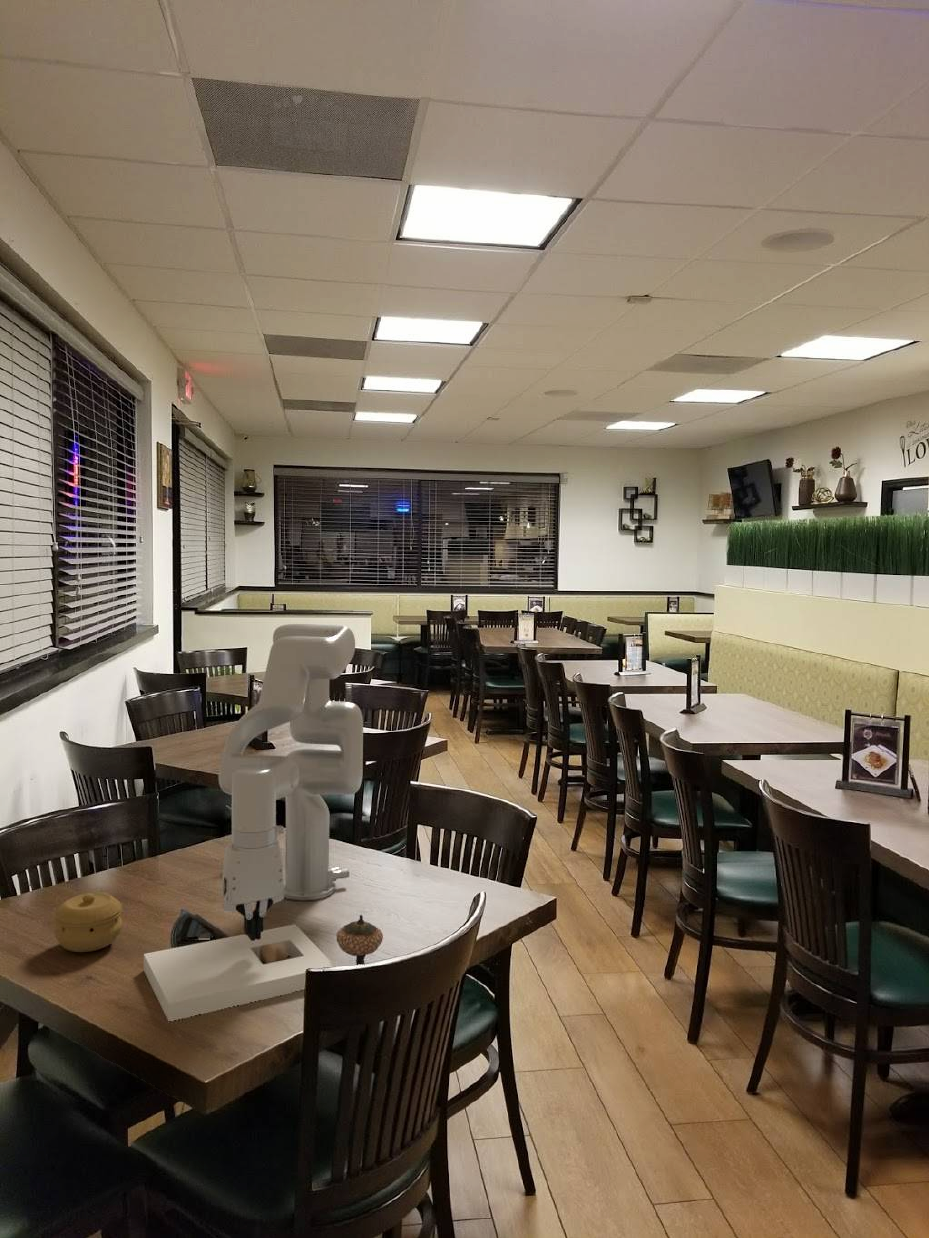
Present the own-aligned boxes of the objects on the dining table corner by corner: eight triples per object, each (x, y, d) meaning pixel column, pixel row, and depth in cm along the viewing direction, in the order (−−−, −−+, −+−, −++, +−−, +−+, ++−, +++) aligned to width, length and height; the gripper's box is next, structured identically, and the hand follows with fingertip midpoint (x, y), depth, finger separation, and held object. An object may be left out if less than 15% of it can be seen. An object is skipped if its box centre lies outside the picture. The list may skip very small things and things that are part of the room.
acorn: (327, 973, 157) (328, 918, 156) (351, 954, 164) (352, 902, 164) (367, 983, 154) (368, 927, 153) (390, 963, 161) (391, 910, 161)
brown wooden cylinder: (259, 963, 159) (278, 959, 161) (266, 980, 155) (286, 976, 156) (261, 939, 157) (280, 935, 159) (269, 956, 153) (288, 952, 155)
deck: (295, 939, 171) (295, 924, 170) (334, 982, 153) (334, 965, 153) (143, 970, 156) (143, 953, 156) (168, 1022, 139) (168, 1003, 139)
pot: (73, 932, 172) (72, 881, 171) (132, 934, 171) (132, 883, 171) (42, 958, 160) (41, 905, 159) (106, 961, 160) (106, 907, 159)
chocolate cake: (246, 940, 171) (208, 892, 173) (237, 945, 164) (197, 895, 166) (208, 975, 170) (170, 926, 172) (197, 981, 163) (157, 930, 165)
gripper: (287, 824, 162) (287, 920, 163) (205, 836, 154) (205, 937, 156) (301, 836, 155) (301, 936, 157) (216, 849, 148) (217, 955, 149)
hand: (253, 936), depth 156 cm, fingers closed
